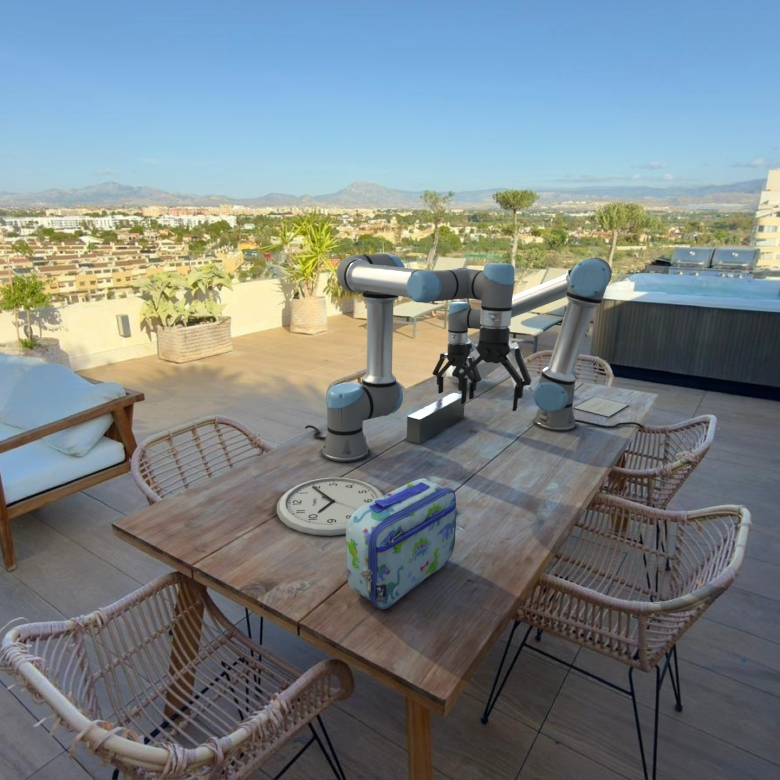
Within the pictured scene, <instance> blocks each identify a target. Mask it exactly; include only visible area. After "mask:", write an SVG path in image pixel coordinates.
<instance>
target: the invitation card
mask: <svg viewBox="0 0 780 780" xmlns="http://www.w3.org/2000/svg"><path fill="white" fill-rule="evenodd" d="M628 406H629V404H627V403H623V402H618V401H614V400H609V399H605V398H601V397H596V396H593V397H592V398H590V399H588V400H586V401H584V402H582V403H580V404H578V405H575V406H574V407H573V409H575V410H581V411H584V412H587V413H593V414H596V415H600V416H604V417H608V418H609V417H611V416H613V415H614V414H616V413H617V412H619V411H621V410H623V409H624V408H626V407H628Z"/></svg>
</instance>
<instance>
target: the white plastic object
mask: <svg viewBox="0 0 780 780" xmlns="http://www.w3.org/2000/svg"><path fill="white" fill-rule="evenodd" d="M469 342H472V340H471V339H470V338H469V337H468V341H467V342H466V343H467V344H468V343H469ZM509 347H510V348H517V347H520V345H519V344H518V341H515V342H513V341H512V338H511V334H510V335H509ZM479 356H480V354H479V353H478V351H477V349H474V351H473V352H471V353H470V355H469V357H474V358H475V360H476V359H477V358H478V357H479ZM521 356H522V358H523V360H524V363H525V364H526V362H525V359H524V356H523V353H522V351H521ZM507 358H508V359H509V361H510V363H511V364H512V366H513V367H514V364H513V361H512V359H515V356H513V355H512V353H511V352H509V354H508V355H507ZM466 363H467V364H468V367H469V366H470V365H469V362H468V361H466ZM501 366H503V365H502V364H501V362H500V363H498V364H496V363H492V362H489V363H487V362H485V361H484V360H482V361H480V362H479V363H478V364H477V365H476V367H477V369H478V372H479V374H480V377H481V379H482V380H481V381H483V380H485V379H488V375H490V374H492V373H493V372H494V371H496V370H497V369H498V368H500V367H501ZM455 368H456V366H452V365H451V366H450V367H449V368H448V369H447V370H446V371H445V372H444V373H445V376H446V378H447V379H448V380H449V382H450V383H456V382H458V383H459V379H458V378H457V377H454V376H452V373H453V371H454V369H455ZM460 372H461V373H463V372H464V370H463V369H462V368H461V370H460ZM471 372H472V370H471ZM472 373H473V372H472ZM465 378H468V376H467V375H466V376H465ZM510 378H511V382H512V386H513V388H514V390H515V386H516V384H517V383H516V382H515V381H514V379H513V378H512V376H511V375H510ZM468 381H470V379H469V378H468ZM526 388H527V389H528V391H529V392H530V393H531V394H532V393H534V390H535V389H534V387H533V384H532V382H531V383H530V385H526Z"/></svg>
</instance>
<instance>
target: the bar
mask: <svg viewBox="0 0 780 780" xmlns="http://www.w3.org/2000/svg"><path fill="white" fill-rule="evenodd" d="M461 396H462V393H461V394H460V393H456V392H452V393H450V394H448V395H446V396H444V397H443V398H440V399H438V400H437V401H435V402H433V403H430V404H429V405H427V406H424V407H423V408H421V409H418V410H417V411H415V412H412V413H411V414H409V415H407V417H406V442H410V443H414V444H416V445H417V444H418V445H420V444H422V443H423V442H425V441H428V439H430V438H432V437H433V436H435V435H436V434H438V433H440V432H442V431H443V430H445V429H447V428H449V427H450V426H452V425H453V424H455V423H457V422H458V421H460V420H462V419H463V418H465V405H466V402H465V403H464V404H461Z"/></svg>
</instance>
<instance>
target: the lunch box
mask: <svg viewBox="0 0 780 780" xmlns="http://www.w3.org/2000/svg"><path fill="white" fill-rule="evenodd" d="M456 498H457V496H456V493H455V491H454V489H452V488H450V487H443V486H441V485H439V484H438V483H436V482H433V481H432V480H430V479H427V478H423V477H422V478H418V479H416V480H413V481H411V482H409V483H406V484H405V485H402V486H400V487H398V488H396V489H394V490H392V491H390V492H388V493H386V494H384V496H382V497H380V498H378V499H376V500H374V501H372V502H370V503H368V504H366V505H364V506H362V507H360V508H358V509H357V510H356V511H355V512H354V513H353V514H352V515H351V517H350V519H349V521H348V524H347V528H346V534H345V547H346V549H345V550H346V572H347V573H346V575H347V584H348V587H349V589H350V590H351V591H353V592H355V593H357V594H358V595H361V596H363V597H364V598H365V599H367V600H368V601H369V602H371V604H372V605H373V606H374V607H376V608H377V609H380V610H386V609H389V608H391V607H393V605H395V603H397V602H398V601H399V600H400V599H402V598H403V597H404V596H405V595H408V593H410V592H411V591H412V590H413V589H415V588H416V587H417V586H419V585H420V584H421V583H423V581H424V580H425V579H427V578H428V577H430V576H431V575H433V574H435V573H437V572H438V571H439V570H441V569H442V568H443V567H444V566H446V564H447V563H448V562H449V560H450V559H451V556H452V555H453V552H454V548H455V544H456V531H457V530H456V529H457V508H456V505H457V499H456Z"/></svg>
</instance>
